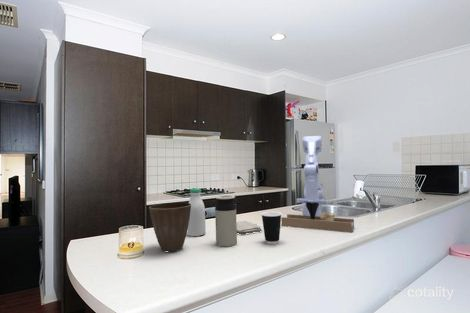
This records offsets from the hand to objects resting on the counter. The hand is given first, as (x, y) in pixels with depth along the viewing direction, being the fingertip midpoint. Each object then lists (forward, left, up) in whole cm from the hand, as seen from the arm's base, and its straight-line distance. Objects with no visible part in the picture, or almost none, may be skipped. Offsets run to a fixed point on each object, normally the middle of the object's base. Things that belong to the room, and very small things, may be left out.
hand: (312, 219), depth 129 cm
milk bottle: (-42, -34, -4) cm, 54 cm away
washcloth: (-28, -18, -4) cm, 33 cm away
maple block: (+7, 0, -1) cm, 7 cm away
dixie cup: (-8, -31, -4) cm, 32 cm away
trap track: (+2, 0, -3) cm, 4 cm away
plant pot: (-38, -54, -4) cm, 66 cm away
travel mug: (-23, -40, -4) cm, 46 cm away
